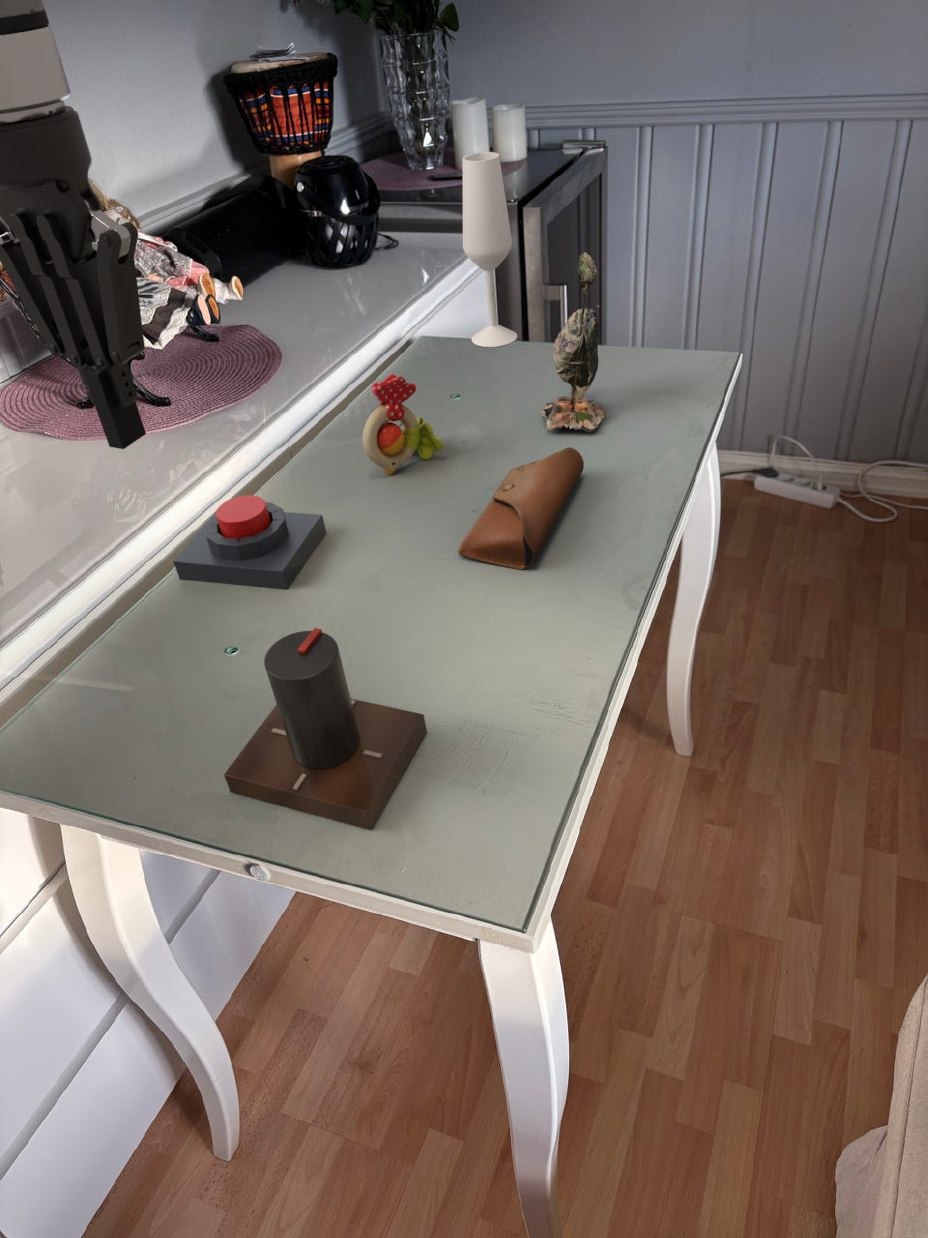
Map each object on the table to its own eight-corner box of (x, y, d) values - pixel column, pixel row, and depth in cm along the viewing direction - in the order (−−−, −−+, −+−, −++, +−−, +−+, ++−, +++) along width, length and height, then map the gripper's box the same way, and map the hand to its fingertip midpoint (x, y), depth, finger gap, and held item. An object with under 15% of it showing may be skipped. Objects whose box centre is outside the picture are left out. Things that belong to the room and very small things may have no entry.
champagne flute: (464, 345, 130) (447, 163, 115) (480, 327, 135) (465, 150, 120) (509, 348, 128) (497, 162, 113) (523, 329, 133) (513, 149, 118)
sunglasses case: (510, 464, 102) (537, 420, 97) (563, 497, 102) (593, 455, 97) (453, 556, 89) (481, 510, 84) (514, 593, 89) (545, 550, 85)
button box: (179, 579, 91) (167, 546, 89) (224, 524, 99) (215, 492, 96) (287, 589, 88) (278, 555, 86) (326, 532, 96) (319, 499, 93)
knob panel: (230, 792, 69) (222, 773, 67) (295, 702, 76) (290, 683, 74) (371, 830, 65) (366, 811, 63) (427, 732, 72) (423, 712, 70)
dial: (339, 776, 66) (314, 683, 60) (278, 760, 68) (248, 668, 62) (371, 726, 70) (350, 634, 64) (312, 712, 72) (287, 621, 66)
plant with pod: (619, 397, 113) (621, 229, 101) (594, 440, 105) (593, 264, 93) (556, 392, 116) (551, 228, 103) (527, 433, 108) (518, 262, 96)
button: (212, 537, 90) (206, 520, 89) (234, 510, 94) (229, 493, 92) (257, 541, 89) (252, 524, 87) (278, 513, 92) (274, 496, 91)
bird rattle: (412, 496, 103) (459, 438, 105) (368, 431, 95) (420, 369, 97) (375, 481, 107) (422, 425, 109) (330, 416, 98) (381, 357, 100)
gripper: (131, 98, 59) (220, 429, 74) (-12, 100, 64) (99, 410, 78) (45, 123, 54) (160, 474, 68) (-102, 123, 59) (34, 450, 73)
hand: (127, 439), depth 73 cm, fingers closed
